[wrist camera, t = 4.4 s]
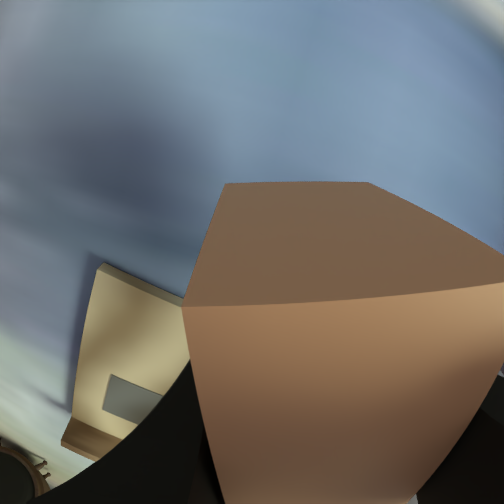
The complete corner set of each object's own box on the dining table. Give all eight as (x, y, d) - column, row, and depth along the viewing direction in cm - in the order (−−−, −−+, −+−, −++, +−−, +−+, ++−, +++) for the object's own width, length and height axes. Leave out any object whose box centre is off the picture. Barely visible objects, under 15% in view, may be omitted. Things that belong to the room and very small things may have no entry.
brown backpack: (58, 460, 28) (20, 576, 9) (70, 481, 30) (41, 583, 12) (-20, 420, 26) (-68, 513, 8) (-4, 445, 29) (-43, 531, 10)
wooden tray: (327, 354, 21) (341, 394, 17) (225, 468, 26) (224, 500, 23) (103, 262, 18) (75, 293, 14) (74, 415, 23) (60, 445, 20)
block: (368, 182, 9) (535, 277, 3) (340, 390, 13) (382, 527, 6) (225, 183, 9) (181, 306, 3) (239, 397, 13) (239, 547, 6)
